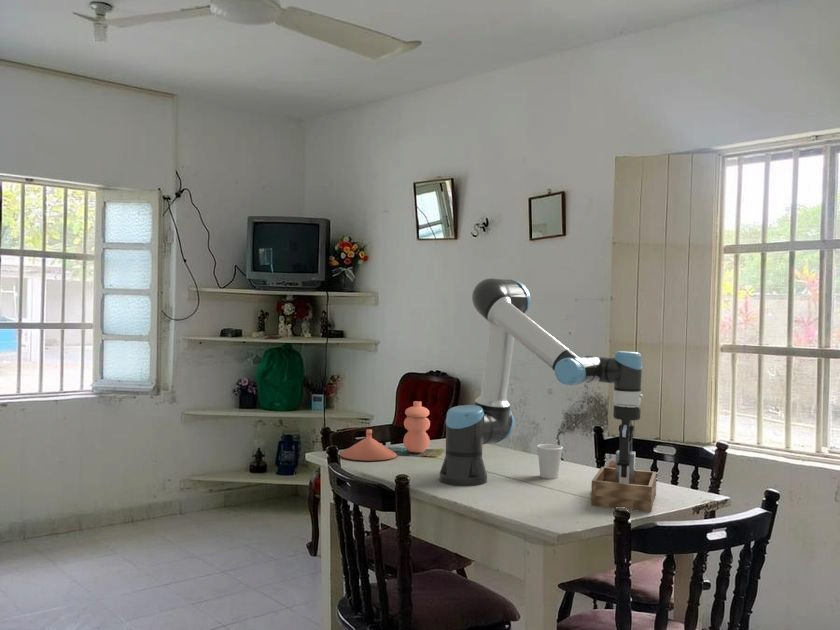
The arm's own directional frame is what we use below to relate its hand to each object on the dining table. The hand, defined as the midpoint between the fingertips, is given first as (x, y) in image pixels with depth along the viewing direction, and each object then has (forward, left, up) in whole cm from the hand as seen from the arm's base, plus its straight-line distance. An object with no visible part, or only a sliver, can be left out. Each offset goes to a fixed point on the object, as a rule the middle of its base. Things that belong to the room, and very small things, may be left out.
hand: (624, 485), depth 214 cm
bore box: (0, 0, -4) cm, 4 cm away
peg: (0, 0, 0) cm, 0 cm away
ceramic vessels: (-89, +32, -5) cm, 95 cm away
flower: (-2, +21, -4) cm, 22 cm away
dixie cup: (-26, +21, -4) cm, 34 cm away
